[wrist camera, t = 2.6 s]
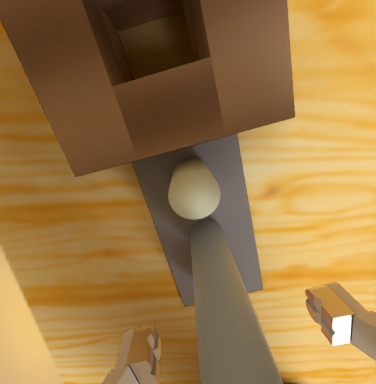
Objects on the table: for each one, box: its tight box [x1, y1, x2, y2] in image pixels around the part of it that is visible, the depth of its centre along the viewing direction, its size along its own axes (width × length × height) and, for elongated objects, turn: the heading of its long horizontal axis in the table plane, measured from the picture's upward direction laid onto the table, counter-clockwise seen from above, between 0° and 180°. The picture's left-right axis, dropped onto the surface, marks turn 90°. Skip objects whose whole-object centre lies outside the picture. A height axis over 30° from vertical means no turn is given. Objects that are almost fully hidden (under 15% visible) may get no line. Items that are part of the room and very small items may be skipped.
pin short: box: [168, 158, 221, 220], centre depth 14 cm, size 3×3×5 cm
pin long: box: [190, 220, 283, 384], centre depth 11 cm, size 3×3×14 cm
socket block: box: [0, 0, 295, 177], centre depth 11 cm, size 12×12×6 cm
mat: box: [132, 134, 263, 307], centre depth 18 cm, size 17×9×1 cm, turn 15°
